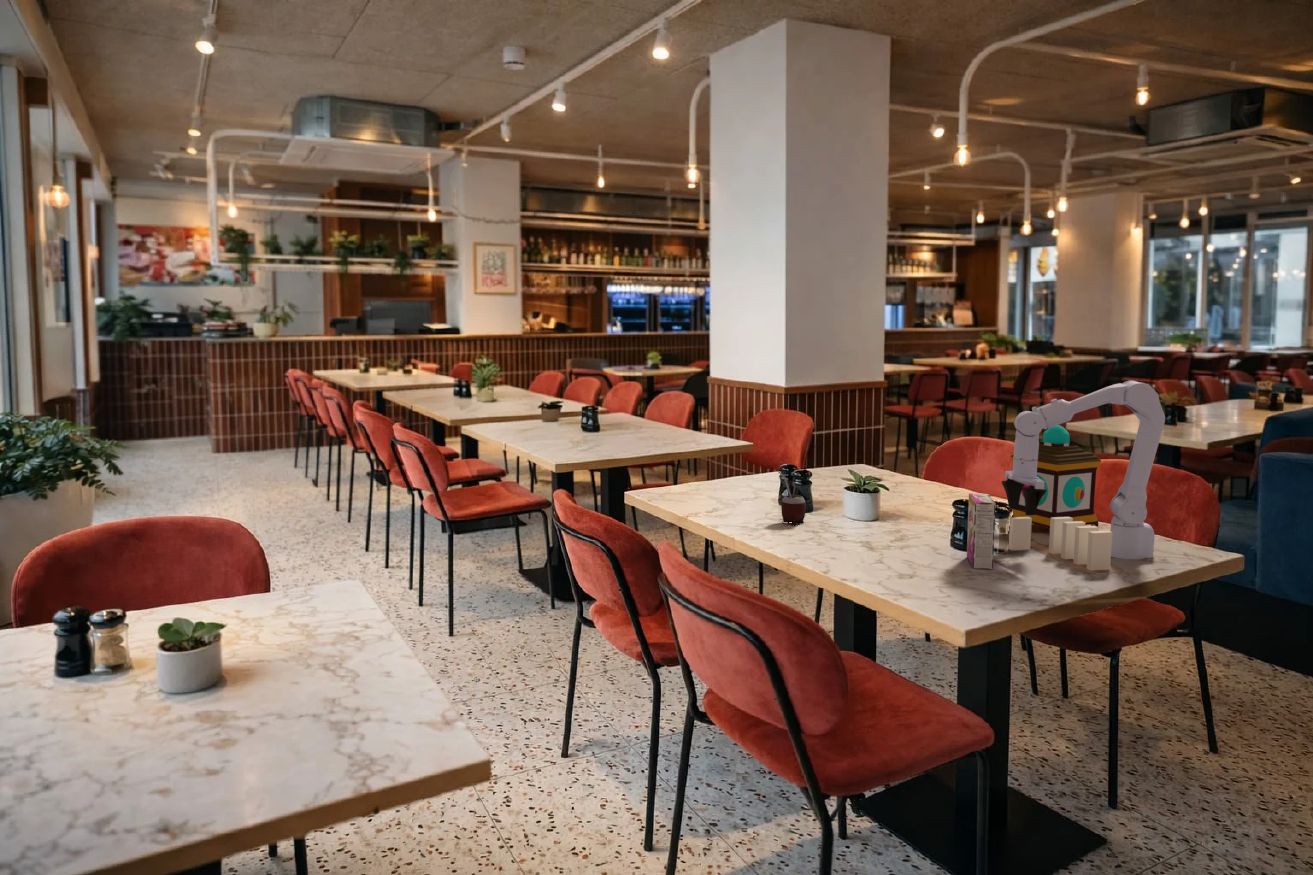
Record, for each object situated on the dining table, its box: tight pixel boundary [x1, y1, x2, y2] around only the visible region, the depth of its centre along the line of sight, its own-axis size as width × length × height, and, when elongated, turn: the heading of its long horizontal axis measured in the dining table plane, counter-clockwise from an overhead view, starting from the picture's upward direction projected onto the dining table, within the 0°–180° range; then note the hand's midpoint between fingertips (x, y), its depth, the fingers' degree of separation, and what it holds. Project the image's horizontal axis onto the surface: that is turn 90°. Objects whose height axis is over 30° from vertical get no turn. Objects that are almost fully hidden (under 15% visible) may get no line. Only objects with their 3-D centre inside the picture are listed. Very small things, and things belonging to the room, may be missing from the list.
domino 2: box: [1048, 517, 1073, 554], centre depth 223 cm, size 2×5×9 cm, turn 99°
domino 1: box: [1008, 517, 1033, 551], centre depth 226 cm, size 2×5×9 cm, turn 99°
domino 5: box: [1086, 530, 1113, 571], centre depth 208 cm, size 2×5×9 cm, turn 99°
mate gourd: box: [777, 470, 807, 526], centre depth 259 cm, size 8×8×15 cm
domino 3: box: [1061, 521, 1086, 559], centre depth 218 cm, size 2×5×9 cm, turn 99°
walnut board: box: [1030, 543, 1124, 575], centre depth 218 cm, size 9×26×1 cm, turn 9°
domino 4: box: [1073, 525, 1100, 565], centre depth 213 cm, size 2×5×9 cm, turn 99°
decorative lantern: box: [1010, 424, 1102, 530], centre depth 249 cm, size 20×20×30 cm
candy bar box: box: [966, 492, 997, 570], centre depth 216 cm, size 11×5×16 cm, turn 168°
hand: (1021, 511), depth 225 cm, fingers open, 7 cm apart
